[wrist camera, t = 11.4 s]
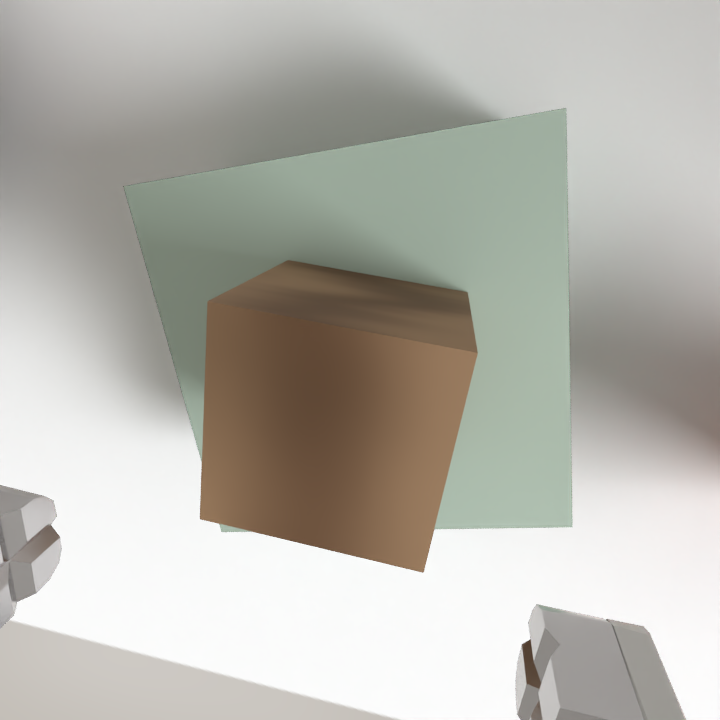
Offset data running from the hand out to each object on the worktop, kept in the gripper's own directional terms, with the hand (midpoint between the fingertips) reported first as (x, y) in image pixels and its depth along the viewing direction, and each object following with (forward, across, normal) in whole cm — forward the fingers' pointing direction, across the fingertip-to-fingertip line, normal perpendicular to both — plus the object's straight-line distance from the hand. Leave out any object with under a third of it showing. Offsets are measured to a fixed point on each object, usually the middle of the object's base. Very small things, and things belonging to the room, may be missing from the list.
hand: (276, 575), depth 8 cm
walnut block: (+10, 0, 0) cm, 10 cm away
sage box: (+18, +1, 0) cm, 18 cm away
